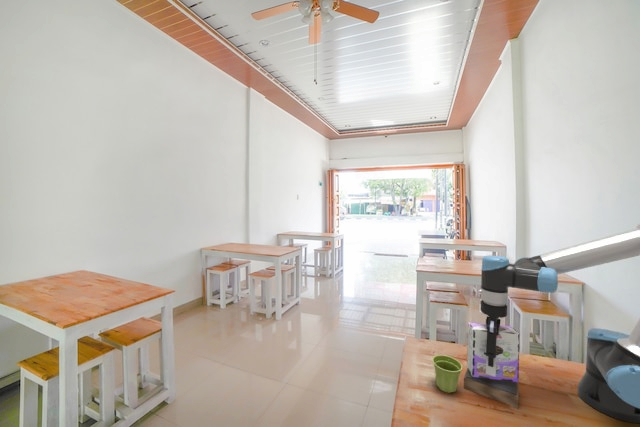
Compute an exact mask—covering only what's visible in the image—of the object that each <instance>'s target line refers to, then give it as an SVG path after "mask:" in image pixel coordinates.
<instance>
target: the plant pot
mask: <svg viewBox="0 0 640 427" xmlns="http://www.w3.org/2000/svg"><path fill="white" fill-rule="evenodd" d="M431 361H432V363H433V367H434V372H435V380H436V386H437V387H438V388H439V390H440V391H442V392H445V393H447V394H450V393H455V392H456V391H457V389H458V388H457V387H458V381H459V377H460V374H461V371H463V364H462V363H461V361H459V360H458V359H456V358H454V357H453V356H449V355H445V354H437V355H434V356H433V357H432V359H431Z"/></svg>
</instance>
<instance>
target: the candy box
mask: <svg viewBox="0 0 640 427" xmlns="http://www.w3.org/2000/svg"><path fill="white" fill-rule="evenodd" d="M496 332H497V330H496ZM486 345H487V329H486V323H480V322H477V323H476V322H468V323H467V353H466V354H467V357H466V359H467V360H466V363H467V364H466V365H467V366H466V367H468V369H469V371H470V373H471V375H472V376H473V377H479V378H487V379H495V380H503V381H511V382H520V381H519V380H520V378H519V376H520V374H519V372H520V370H519V369H520V368H519V367H520V332H519V331H517V330H516V329H515V328H513V326H511V325H502V324H500V327H499V334H498V335H497V339H496V377H494V376H491V375H488V374H486V355H484V352H485V353H486Z"/></svg>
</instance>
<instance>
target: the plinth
mask: <svg viewBox="0 0 640 427" xmlns="http://www.w3.org/2000/svg"><path fill="white" fill-rule="evenodd" d="M466 367H467V366H466ZM519 382H520V381H519ZM519 382H511V381H503V380H495V379H487V378H479V377H473V376H472V375H471V373H470V371H469V369H468V367H467V368H466V370H465V374H464V377H463V389H466V390H468V391H471V392H473V393H475V394H479V395H480V396H484V397H487V398H488V399H489V398H490V399H492V400H495V401H497V402H499V403H503V404H504V405H508V406H510V407H513V408H516V409H519V395H520V394H519V392H520V391H519V390H520V388H519V385H520V383H519Z"/></svg>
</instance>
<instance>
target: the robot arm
mask: <svg viewBox="0 0 640 427" xmlns="http://www.w3.org/2000/svg"><path fill="white" fill-rule="evenodd" d="M638 256H639V257H640V223H639V224H637V226H636V228H634V229H629V230H625V231H623V232H618V233H615V234H612V235H608V236H605V237H600V238H597V239H593V240H589V241H586V242H583V243H579V244H575V245H572V246H571V245H570V246H568V247H564V248H561V249H558V250H554V251H549V252H545V253H543V254H539V255H535V256H532V257H519V258H518V259H517V260H516V261H515V262H514V264H513V263H511V262H510V260H509V258H508V257H506V256H500V255H492V254H491V255H485V256H484V257H482V258H481V260H482V261H481V281H480V284H481V289H479V290H478V293H480V299H481V300H480V312H481V313H482V314H484V315H486V319H485V324H486V329H487V345H486V353H485V352H484V355H486V374H488V375H491V376H494V377H496V339H497V335H498V334H499V327H500V325H501V319H502V318H503V319H504V318H506V317H507V316H508V303H509V290H508V289H509V288H513V289H521V290H527V291H533V292H540V293H548V294H549V293H550V294H552V293H553V294H554V293H556V292H557V290H558V285H559V284H558V283H559V276H558V275H561V274H566V273H570V272H574V271H579V270H582V269H588V268H591V267H595V266H599V265H600V266H601V265H604V264H609V263H612V262H617V261H622V260H625V259H626V260H627V259H630V258H634V257H638ZM496 330H497V332H496ZM586 339H587V340H586V359H585V360H586V361H585V373H584V374H583V376H582V377H581V379H580V381H579V382H578V385H577V394H578V397H579V398H580V399H581V400H582V401H583V402H585V403H586V404H587V405H588V406H590V407H591V408H593V409H595V410H597V412H601V413H603V414H604V415H606V416H610V417H611V418H614V419H617V420H620V421H623V422H628V423H633V424H640V318H639V319H638V321H637V322H636V324H635V326H634V327H633V329H632V331H631V332H630V334H627V333H624V332H619V331H615V330H609V329H605V328H597V327H596V328H595V327H594V328H591V329H588V331H587V336H586Z"/></svg>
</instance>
